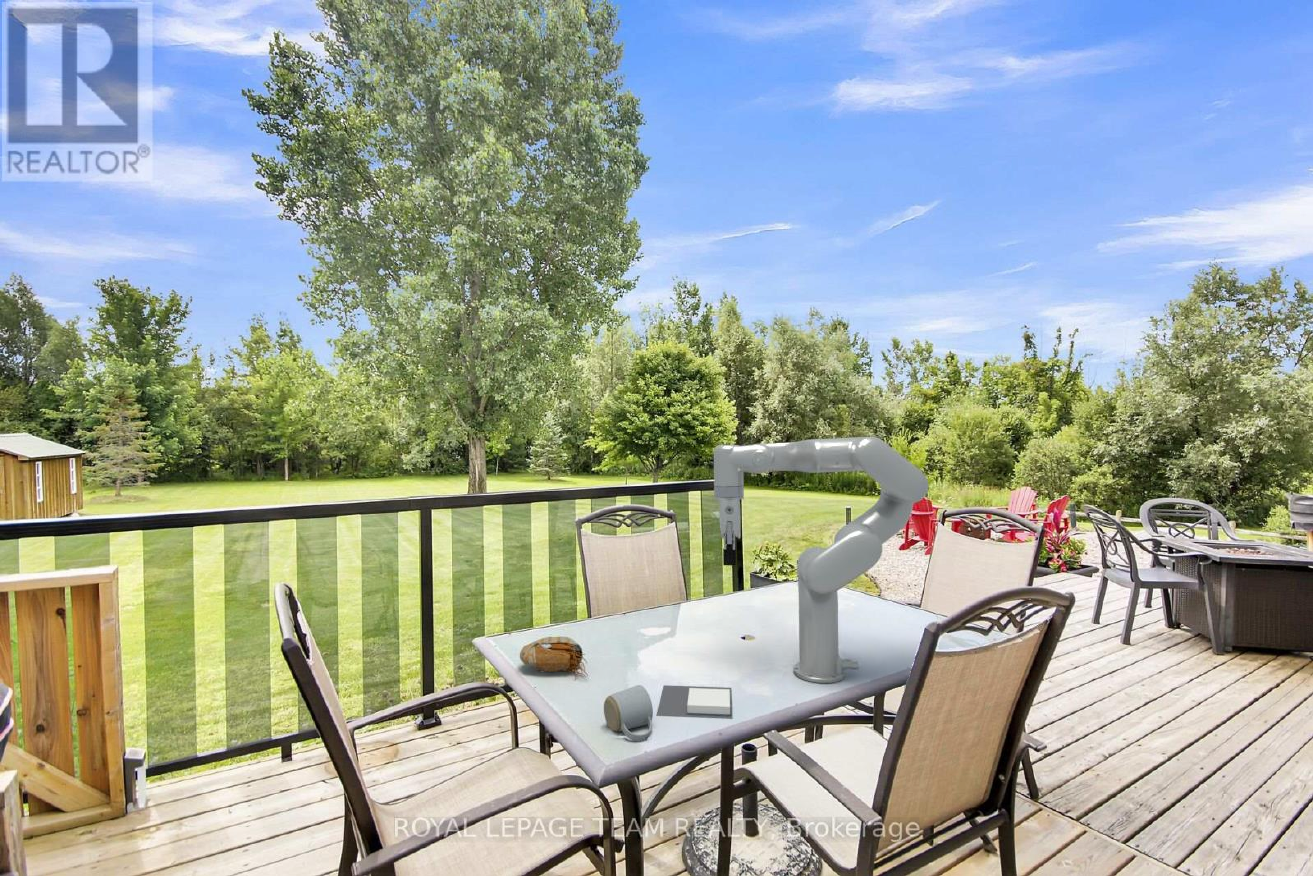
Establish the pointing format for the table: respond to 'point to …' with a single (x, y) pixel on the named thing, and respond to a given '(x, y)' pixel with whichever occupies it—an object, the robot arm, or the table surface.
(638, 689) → the ceramic mug
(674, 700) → the mat
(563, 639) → the nautilus
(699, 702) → the tile
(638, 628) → the table surface
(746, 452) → the robot arm
